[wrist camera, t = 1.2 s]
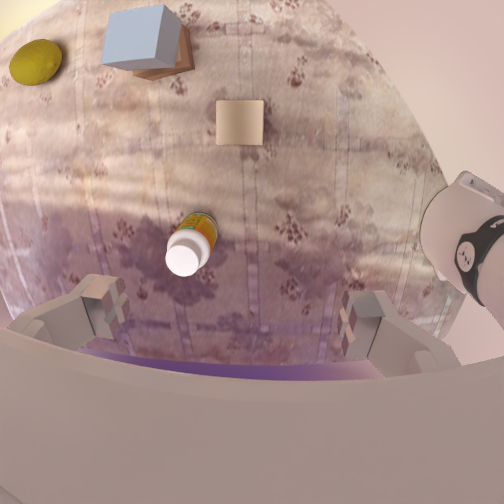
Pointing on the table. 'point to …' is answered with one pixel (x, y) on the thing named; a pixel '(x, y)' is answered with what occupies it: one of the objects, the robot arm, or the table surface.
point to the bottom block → (181, 64)
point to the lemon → (35, 62)
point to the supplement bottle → (191, 244)
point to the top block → (142, 38)
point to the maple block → (239, 122)
